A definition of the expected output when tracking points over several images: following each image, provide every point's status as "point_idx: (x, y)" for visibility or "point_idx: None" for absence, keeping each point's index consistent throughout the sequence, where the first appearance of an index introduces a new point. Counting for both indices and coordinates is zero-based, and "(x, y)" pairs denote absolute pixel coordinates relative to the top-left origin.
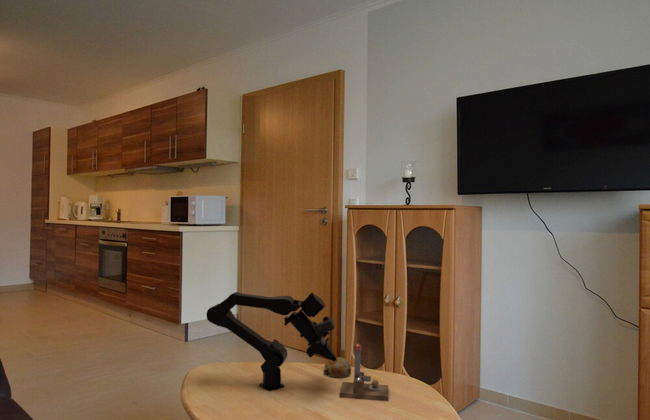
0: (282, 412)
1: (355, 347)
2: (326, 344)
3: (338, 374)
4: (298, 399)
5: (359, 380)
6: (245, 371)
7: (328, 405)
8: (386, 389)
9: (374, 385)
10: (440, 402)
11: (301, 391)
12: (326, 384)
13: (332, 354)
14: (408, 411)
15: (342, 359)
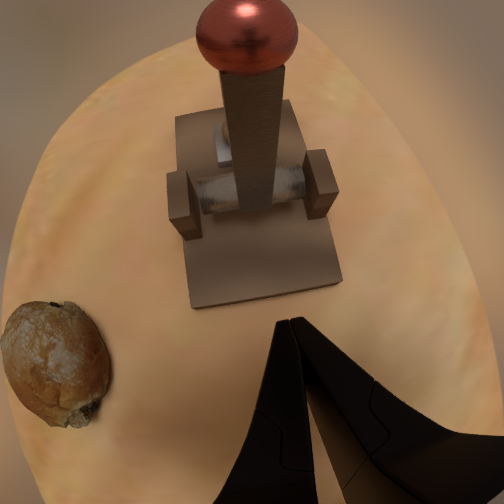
0: (494, 408)
1: (297, 30)
2: (499, 446)
3: (101, 351)
4: None
5: (300, 168)
6: None
7: (423, 300)
8: (222, 112)
9: None
10: None
11: None
12: (202, 391)
13: (347, 358)
14: (332, 69)
15: (21, 339)
